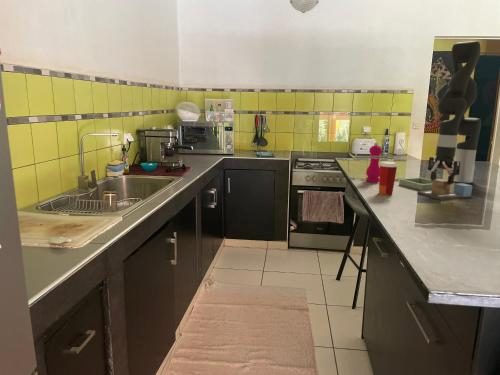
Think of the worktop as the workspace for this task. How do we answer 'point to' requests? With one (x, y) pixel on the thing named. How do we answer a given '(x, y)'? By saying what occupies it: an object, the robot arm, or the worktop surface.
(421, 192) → the letter mat
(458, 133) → the robot arm
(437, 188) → the walnut block
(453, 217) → the worktop surface
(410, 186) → the tray
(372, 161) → the pepper mill
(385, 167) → the paper cup
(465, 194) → the slate cube
